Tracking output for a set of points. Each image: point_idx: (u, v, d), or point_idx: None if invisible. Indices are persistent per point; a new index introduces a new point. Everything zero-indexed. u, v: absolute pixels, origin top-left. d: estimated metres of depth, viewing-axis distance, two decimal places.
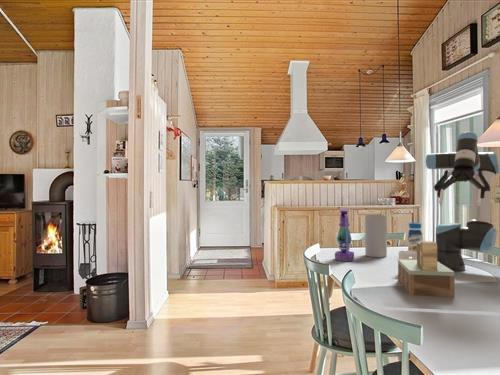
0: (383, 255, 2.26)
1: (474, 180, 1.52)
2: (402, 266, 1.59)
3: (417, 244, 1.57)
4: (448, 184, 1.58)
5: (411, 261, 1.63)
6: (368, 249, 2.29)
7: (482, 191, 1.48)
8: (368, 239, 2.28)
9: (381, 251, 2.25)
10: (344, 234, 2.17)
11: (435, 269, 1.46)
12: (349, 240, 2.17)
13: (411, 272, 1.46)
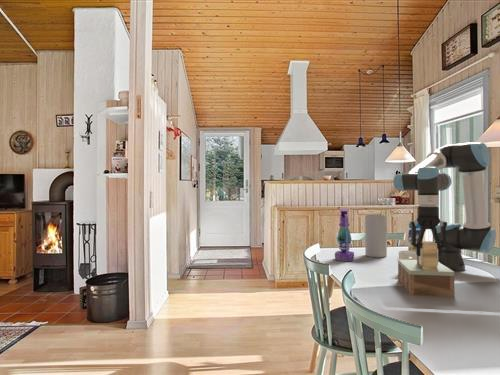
0: (383, 255, 2.26)
1: (436, 235, 1.47)
2: (402, 266, 1.59)
3: None
4: None
5: (411, 261, 1.63)
6: (368, 249, 2.29)
7: (439, 250, 1.47)
8: (368, 239, 2.28)
9: (381, 251, 2.25)
10: (344, 234, 2.17)
11: (435, 269, 1.46)
12: (349, 240, 2.17)
13: (411, 272, 1.46)
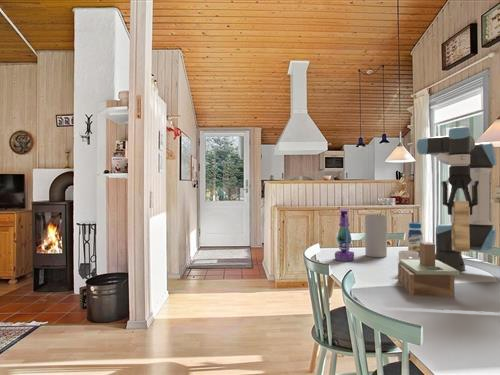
0: (383, 255, 2.26)
1: (467, 193, 1.50)
2: (405, 266, 1.59)
3: (420, 244, 1.58)
4: None
5: (413, 261, 1.63)
6: (368, 249, 2.29)
7: (470, 208, 1.50)
8: (368, 239, 2.28)
9: (381, 251, 2.25)
10: (344, 234, 2.17)
11: (467, 226, 1.49)
12: (349, 240, 2.17)
13: (417, 272, 1.46)
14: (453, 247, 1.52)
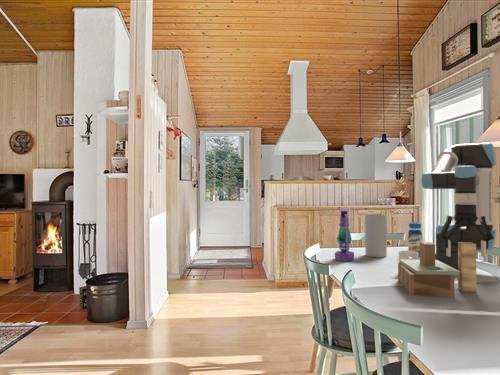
0: (383, 255, 2.26)
1: (479, 230, 1.50)
2: (405, 266, 1.59)
3: (420, 244, 1.58)
4: None
5: (413, 261, 1.63)
6: (368, 249, 2.29)
7: (486, 242, 1.50)
8: (368, 239, 2.28)
9: (381, 251, 2.25)
10: (344, 234, 2.17)
11: (474, 269, 1.49)
12: (349, 240, 2.17)
13: (417, 272, 1.46)
14: None
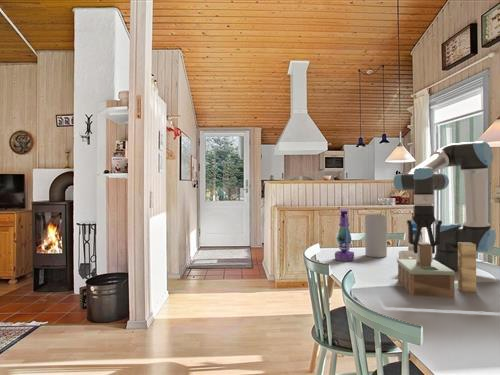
0: (383, 255, 2.26)
1: (430, 233, 1.53)
2: (402, 266, 1.59)
3: None
4: None
5: (410, 261, 1.63)
6: (368, 249, 2.29)
7: (433, 247, 1.54)
8: (368, 239, 2.28)
9: (381, 251, 2.25)
10: (344, 234, 2.17)
11: (474, 270, 1.49)
12: (349, 240, 2.17)
13: (412, 272, 1.46)
14: (459, 289, 1.53)
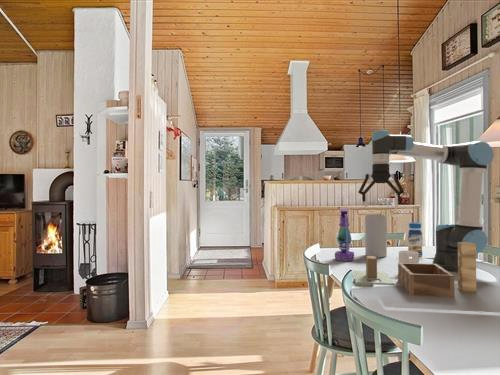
0: (383, 255, 2.26)
1: (391, 185, 1.73)
2: None
3: (366, 257, 1.75)
4: None
5: (362, 272, 1.81)
6: (368, 249, 2.29)
7: (398, 196, 1.73)
8: (368, 239, 2.28)
9: (381, 251, 2.25)
10: (344, 234, 2.17)
11: (474, 270, 1.49)
12: (349, 240, 2.17)
13: (357, 283, 1.64)
14: (459, 289, 1.53)
